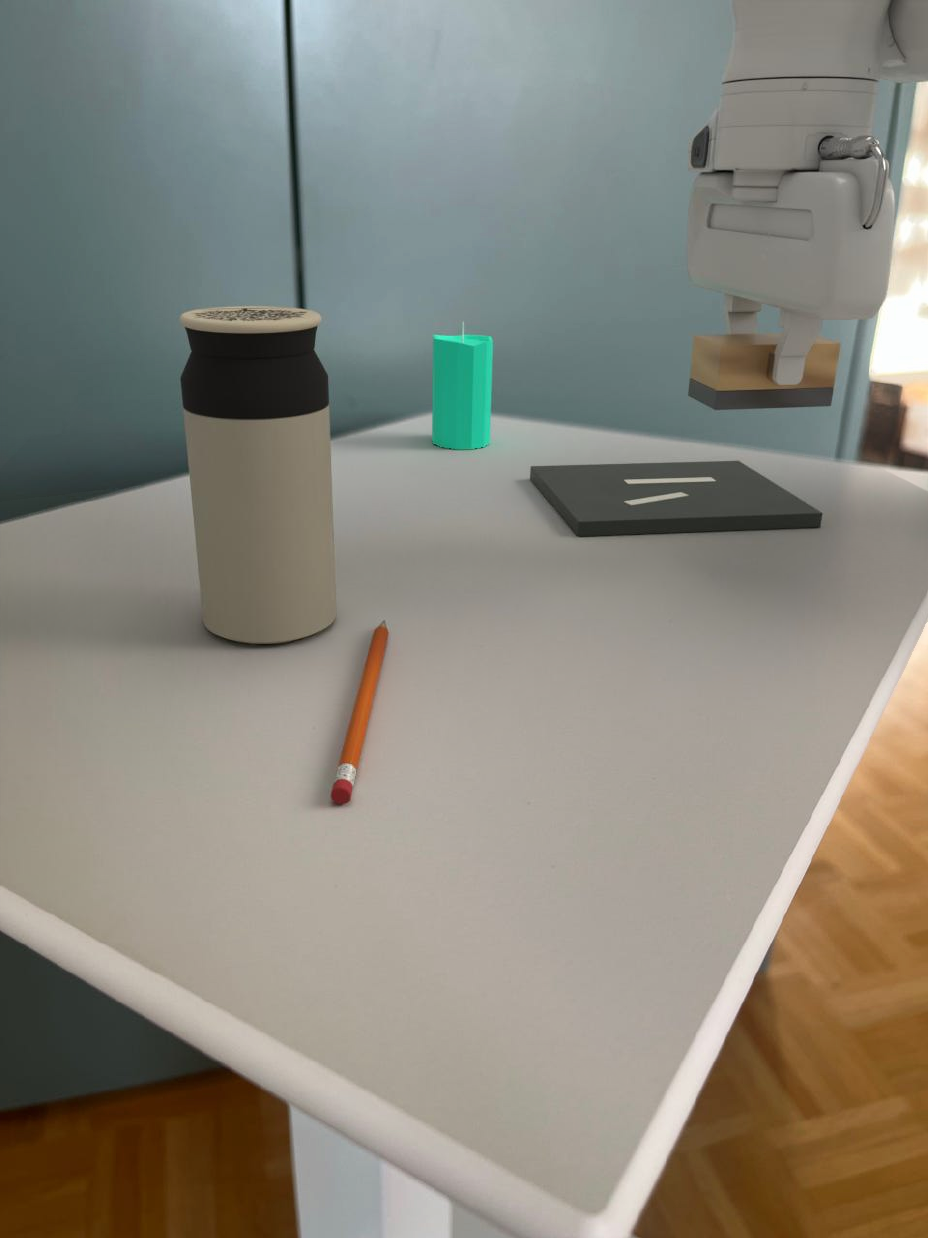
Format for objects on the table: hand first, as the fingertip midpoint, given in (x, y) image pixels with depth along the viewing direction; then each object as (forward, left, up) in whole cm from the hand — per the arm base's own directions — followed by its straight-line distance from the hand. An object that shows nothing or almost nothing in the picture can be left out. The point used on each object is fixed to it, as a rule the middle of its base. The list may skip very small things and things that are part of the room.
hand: (761, 374), depth 65 cm
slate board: (-1, -16, -14) cm, 21 cm away
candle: (+13, -38, -14) cm, 42 cm away
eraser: (0, 0, -2) cm, 2 cm away
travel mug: (+32, +5, -14) cm, 35 cm away
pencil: (+27, +16, -14) cm, 35 cm away
